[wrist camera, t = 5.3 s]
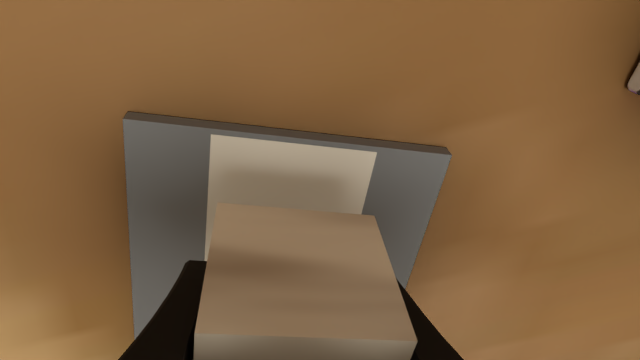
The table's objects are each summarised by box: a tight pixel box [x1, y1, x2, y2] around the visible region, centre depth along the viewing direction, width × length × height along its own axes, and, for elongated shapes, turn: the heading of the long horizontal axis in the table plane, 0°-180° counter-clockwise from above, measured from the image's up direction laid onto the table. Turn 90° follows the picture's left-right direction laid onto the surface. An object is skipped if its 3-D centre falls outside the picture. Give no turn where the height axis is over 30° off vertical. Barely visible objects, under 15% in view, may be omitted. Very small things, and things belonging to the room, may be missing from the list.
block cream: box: [193, 202, 418, 360], centre depth 12 cm, size 4×4×4 cm
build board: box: [123, 112, 452, 339], centre depth 20 cm, size 19×11×1 cm, turn 171°
